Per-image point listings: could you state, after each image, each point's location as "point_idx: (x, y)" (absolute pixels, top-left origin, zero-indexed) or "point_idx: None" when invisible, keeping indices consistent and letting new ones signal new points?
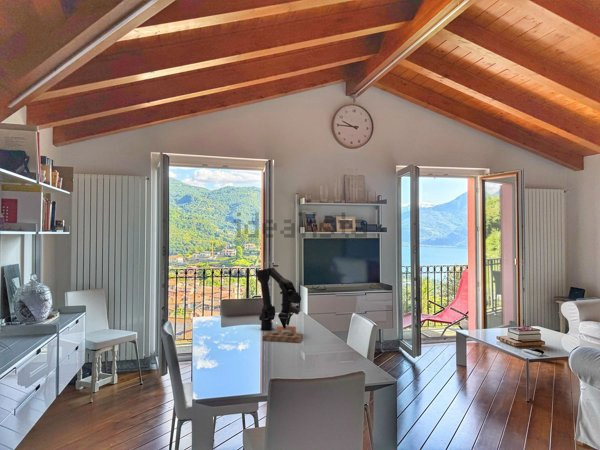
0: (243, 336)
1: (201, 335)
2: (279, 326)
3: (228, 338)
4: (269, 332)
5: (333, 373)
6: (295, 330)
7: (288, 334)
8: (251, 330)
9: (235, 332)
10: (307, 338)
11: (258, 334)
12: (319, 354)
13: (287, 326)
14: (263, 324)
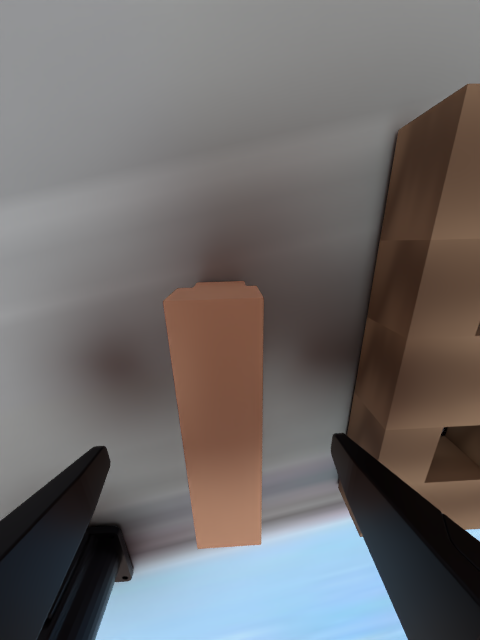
0: (338, 587)
1: None
2: (244, 521)
3: (393, 618)
4: None
5: None
6: (239, 286)
7: (472, 327)
8: (162, 602)
9: (247, 636)
10: (342, 63)
11: (264, 546)
12: None
13: (206, 439)
14: (97, 631)
